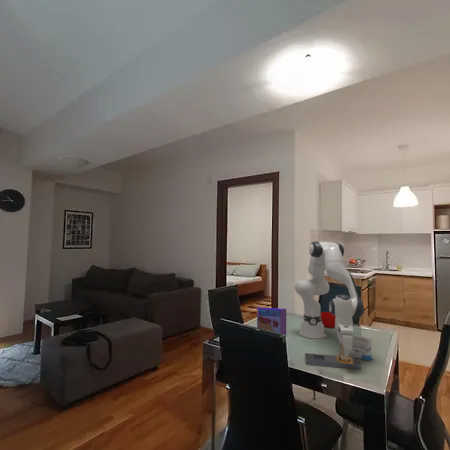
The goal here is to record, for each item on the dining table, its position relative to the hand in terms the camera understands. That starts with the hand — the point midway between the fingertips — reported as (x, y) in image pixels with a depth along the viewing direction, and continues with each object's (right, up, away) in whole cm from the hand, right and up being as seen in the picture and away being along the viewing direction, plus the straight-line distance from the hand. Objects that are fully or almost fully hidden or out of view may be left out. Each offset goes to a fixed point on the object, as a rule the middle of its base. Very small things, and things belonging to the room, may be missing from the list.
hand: (344, 352), depth 157 cm
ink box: (+14, -7, +10) cm, 19 cm away
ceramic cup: (+20, -12, +74) cm, 77 cm away
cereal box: (-35, -7, +22) cm, 42 cm away
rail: (-6, -6, +1) cm, 9 cm away
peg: (0, -6, 0) cm, 6 cm away
